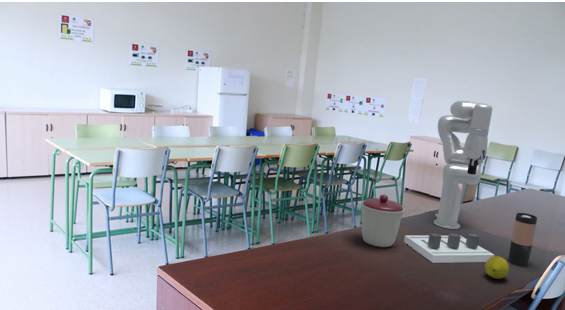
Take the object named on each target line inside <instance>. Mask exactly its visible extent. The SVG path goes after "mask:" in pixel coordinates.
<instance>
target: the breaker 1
mask: <svg viewBox="0 0 565 310" xmlns="http://www.w3.org/2000/svg"><path fill="white" fill-rule="evenodd" d="M428 236H429V240H428V246H429V247H431V248H440V242H441V236H442V235H440V234H438V233H429V234H428Z"/></svg>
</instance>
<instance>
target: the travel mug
mask: <svg viewBox="0 0 565 310" xmlns="http://www.w3.org/2000/svg"><path fill="white" fill-rule="evenodd" d="M515 214H516V215H515V220H514V225H513V230H512V235H511V239H510V244H509V245H510V246H509V251H508V252H509V253H508V259H507V260H508V261H507V262H509V264H512V265H516V266H520V267H527V266H528V265H529V261H530V256H531V252H532V249H533V243H534V237H535V233H536V229H537V228H536V227H537V221H538V217H537V216H536V215H533V214H529V213H525V212H516V213H515Z"/></svg>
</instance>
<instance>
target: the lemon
mask: <svg viewBox="0 0 565 310" xmlns="http://www.w3.org/2000/svg"><path fill="white" fill-rule="evenodd" d="M484 265H485V267H484V270H485V272H486V275H488V276H489V277H491V278H492V279H497V280H500V279H503V278H505V277H506V276H507V275H508V274H509V270H510V265H509V263H508V261H507V259H505V258H503V257H501V256H497V255H496V256H494V257H491V258H490V259H488V260H487V262H485V264H484Z"/></svg>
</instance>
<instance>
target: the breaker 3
mask: <svg viewBox="0 0 565 310" xmlns="http://www.w3.org/2000/svg"><path fill="white" fill-rule="evenodd" d="M466 235H467V236H466V239H467V240H466V246H468V247H469V248H478V246H479V242H480V241H479V240H480V236H479V235H478V234H476V233H467V234H466Z"/></svg>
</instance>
